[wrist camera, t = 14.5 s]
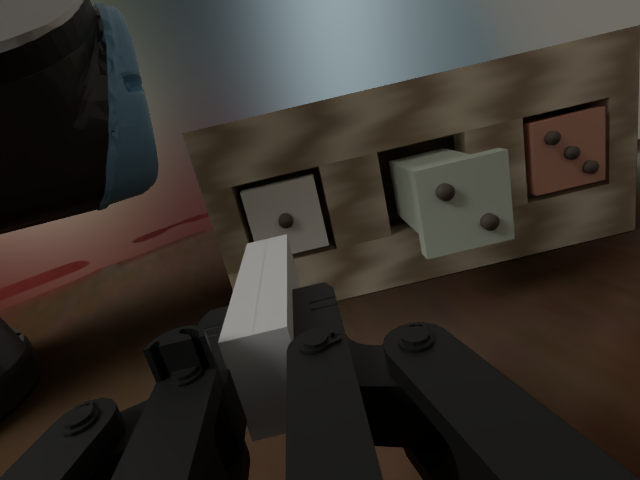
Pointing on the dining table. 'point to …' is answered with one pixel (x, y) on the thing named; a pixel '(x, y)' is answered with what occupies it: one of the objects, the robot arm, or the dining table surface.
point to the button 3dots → (564, 150)
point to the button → (286, 211)
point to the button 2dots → (455, 199)
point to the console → (423, 136)
